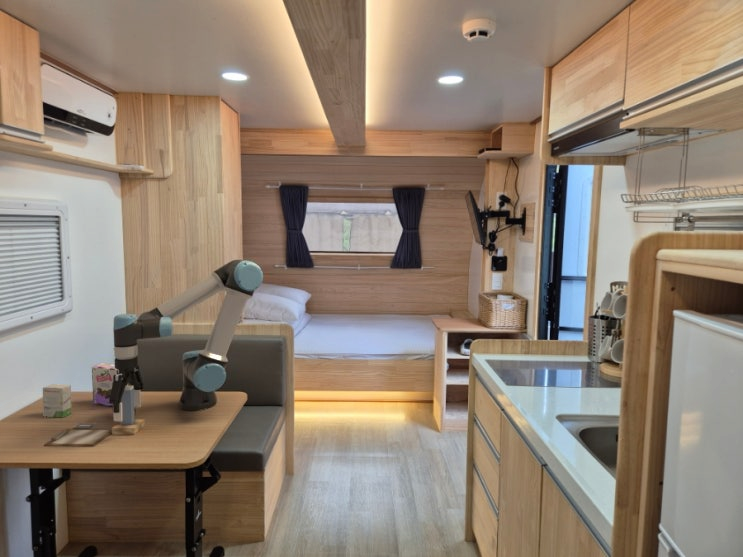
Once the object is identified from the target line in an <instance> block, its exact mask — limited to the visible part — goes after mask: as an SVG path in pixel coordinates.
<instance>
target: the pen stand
mask: <svg viewBox="0 0 743 557" xmlns="http://www.w3.org/2000/svg"><path fill="white" fill-rule="evenodd" d="M145 422H146V421H145V419H143V418H142V419H139V418H137V419H135V423H134V424H133V425H122V421H118V422H117V423H116V424H115V425H114V426H112V427H111V430H112V433H111V435H116V436H117V435H118V436H119V435H121V436H125V435H127V436H134V435H136V434H137V433H139V432H140V431H141V430H142V429H143V428H144V427H146V426H145V425H146V424H145Z"/></svg>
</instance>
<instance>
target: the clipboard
mask: <svg viewBox="0 0 743 557" xmlns="http://www.w3.org/2000/svg"><path fill="white" fill-rule="evenodd" d="M109 435H112V429H104V428H103V429H102V428H101V429H100V428H99V429H97V428H96V429H94V428H93V429H92V428H90V429H73V428H72V429H71V428H68V429H66V430H62V431H60V432H58V433H57V434H55V435H53V437H51V439H50V440H49V441H47V442H46V443H44V444H43V447H95V446H97V445H98V444H99V443H100V442H102V441H103V440H104V439H105V438H107V437H109Z"/></svg>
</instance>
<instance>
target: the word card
mask: <svg viewBox="0 0 743 557" xmlns="http://www.w3.org/2000/svg"><path fill="white" fill-rule="evenodd" d="M95 425H96V423H78V424H76V425H75V426H74V427H72V429H92V428H93V427H95Z"/></svg>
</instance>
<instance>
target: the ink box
mask: <svg viewBox="0 0 743 557" xmlns="http://www.w3.org/2000/svg"><path fill="white" fill-rule="evenodd" d="M71 414H72V385H71V384H69V385H68V384H54V383H52V384H49V385H46V386H43V387H42V416H44V417H45V418H59V417H61V418H64V417H66V416H67V417H68V416H69V415H71ZM46 416H47V417H46ZM44 417H43V418H44Z"/></svg>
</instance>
